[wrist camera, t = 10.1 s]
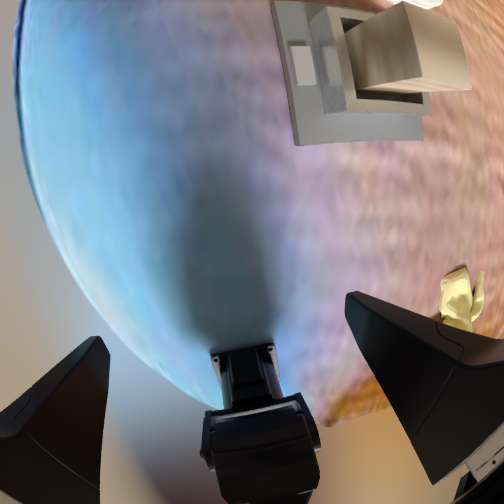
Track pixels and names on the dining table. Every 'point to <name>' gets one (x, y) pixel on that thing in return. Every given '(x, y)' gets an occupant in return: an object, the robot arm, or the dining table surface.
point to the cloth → (461, 299)
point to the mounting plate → (309, 91)
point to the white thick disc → (420, 3)
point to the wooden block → (407, 53)
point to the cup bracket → (340, 73)
